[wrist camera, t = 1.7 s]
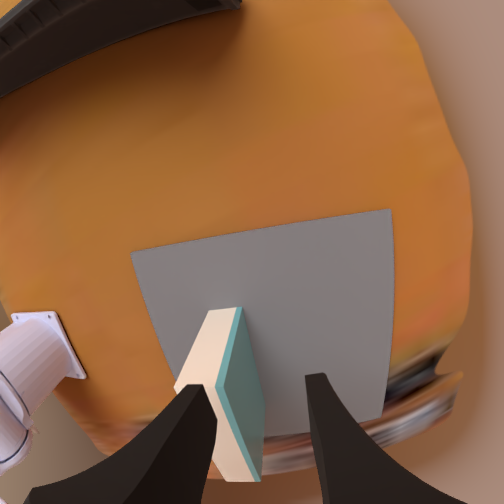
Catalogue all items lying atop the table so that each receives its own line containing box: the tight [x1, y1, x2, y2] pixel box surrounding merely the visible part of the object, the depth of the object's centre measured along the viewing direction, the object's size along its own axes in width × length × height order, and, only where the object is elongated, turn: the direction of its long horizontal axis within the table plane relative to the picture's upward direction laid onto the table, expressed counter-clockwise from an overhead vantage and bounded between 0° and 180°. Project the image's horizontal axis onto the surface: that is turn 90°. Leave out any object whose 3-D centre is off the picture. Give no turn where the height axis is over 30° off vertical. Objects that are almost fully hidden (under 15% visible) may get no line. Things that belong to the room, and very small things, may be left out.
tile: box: [174, 307, 266, 482], centre depth 16 cm, size 2×10×8 cm, turn 11°
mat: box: [130, 209, 394, 437], centre depth 20 cm, size 18×20×1 cm
